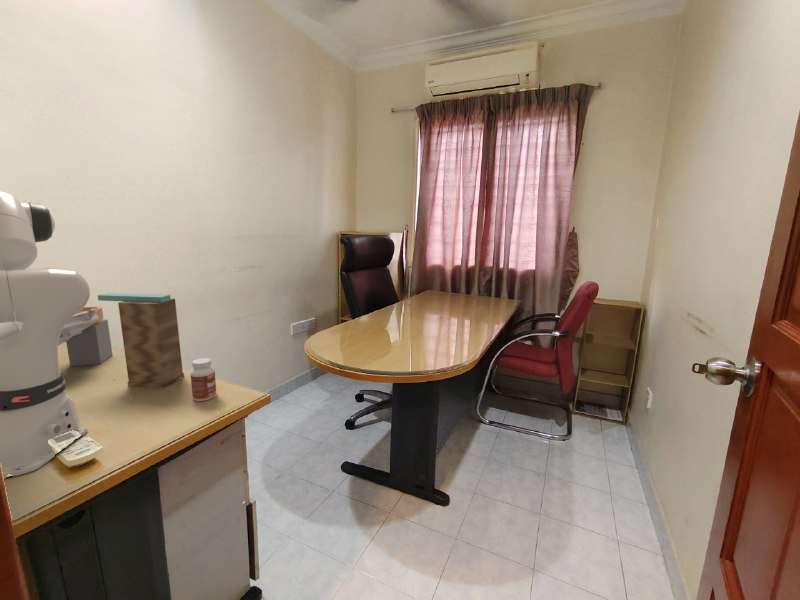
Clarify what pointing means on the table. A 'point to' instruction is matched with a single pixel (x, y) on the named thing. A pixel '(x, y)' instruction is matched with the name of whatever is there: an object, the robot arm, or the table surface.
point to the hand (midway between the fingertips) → (81, 314)
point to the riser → (90, 345)
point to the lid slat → (133, 297)
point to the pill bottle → (203, 380)
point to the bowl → (100, 313)
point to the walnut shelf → (151, 343)
